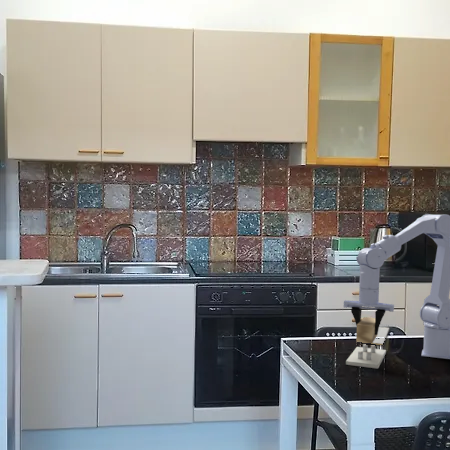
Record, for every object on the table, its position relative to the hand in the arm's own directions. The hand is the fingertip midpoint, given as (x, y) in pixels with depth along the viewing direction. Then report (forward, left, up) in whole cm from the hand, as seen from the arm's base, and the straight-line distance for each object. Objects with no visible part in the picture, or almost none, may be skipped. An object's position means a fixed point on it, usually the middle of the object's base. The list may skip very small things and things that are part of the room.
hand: (367, 333), depth 170 cm
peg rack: (0, 0, -8) cm, 8 cm away
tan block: (0, 0, -1) cm, 1 cm away
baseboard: (+3, -35, -8) cm, 36 cm away
